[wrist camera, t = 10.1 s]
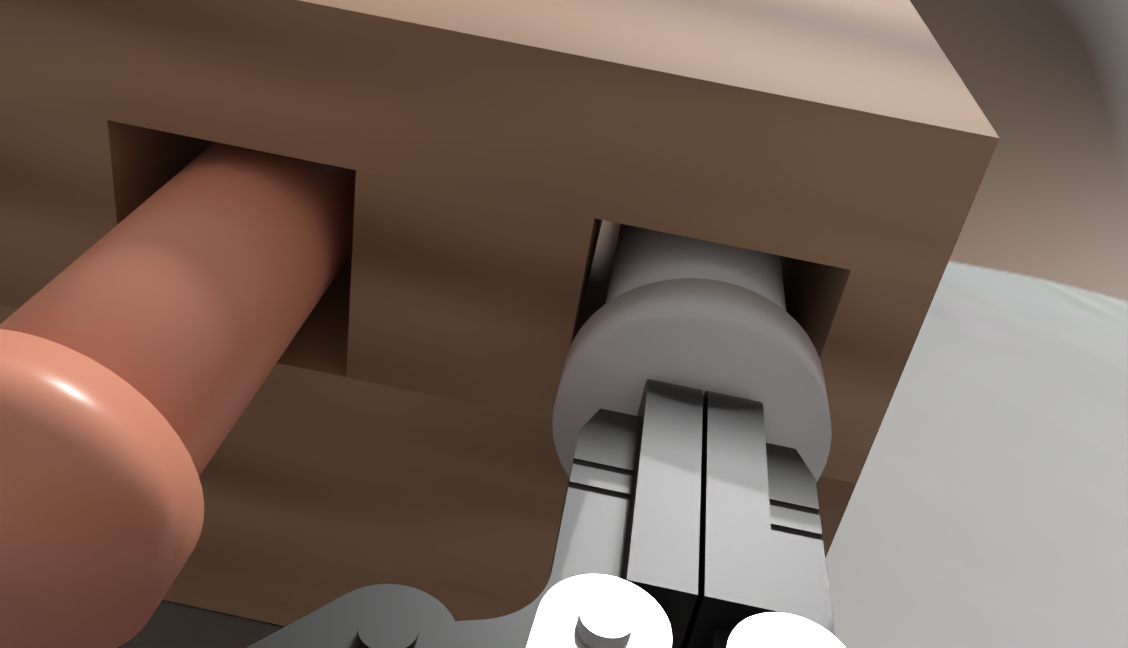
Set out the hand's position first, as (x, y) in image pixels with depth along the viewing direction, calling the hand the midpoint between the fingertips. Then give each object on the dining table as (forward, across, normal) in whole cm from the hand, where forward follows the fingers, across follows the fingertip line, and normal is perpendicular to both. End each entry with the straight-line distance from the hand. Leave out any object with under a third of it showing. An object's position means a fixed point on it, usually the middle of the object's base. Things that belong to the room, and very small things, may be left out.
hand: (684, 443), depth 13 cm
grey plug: (+6, 0, +2) cm, 6 cm away
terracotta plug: (+2, +7, +2) cm, 7 cm away
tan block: (+7, +7, +8) cm, 12 cm away
